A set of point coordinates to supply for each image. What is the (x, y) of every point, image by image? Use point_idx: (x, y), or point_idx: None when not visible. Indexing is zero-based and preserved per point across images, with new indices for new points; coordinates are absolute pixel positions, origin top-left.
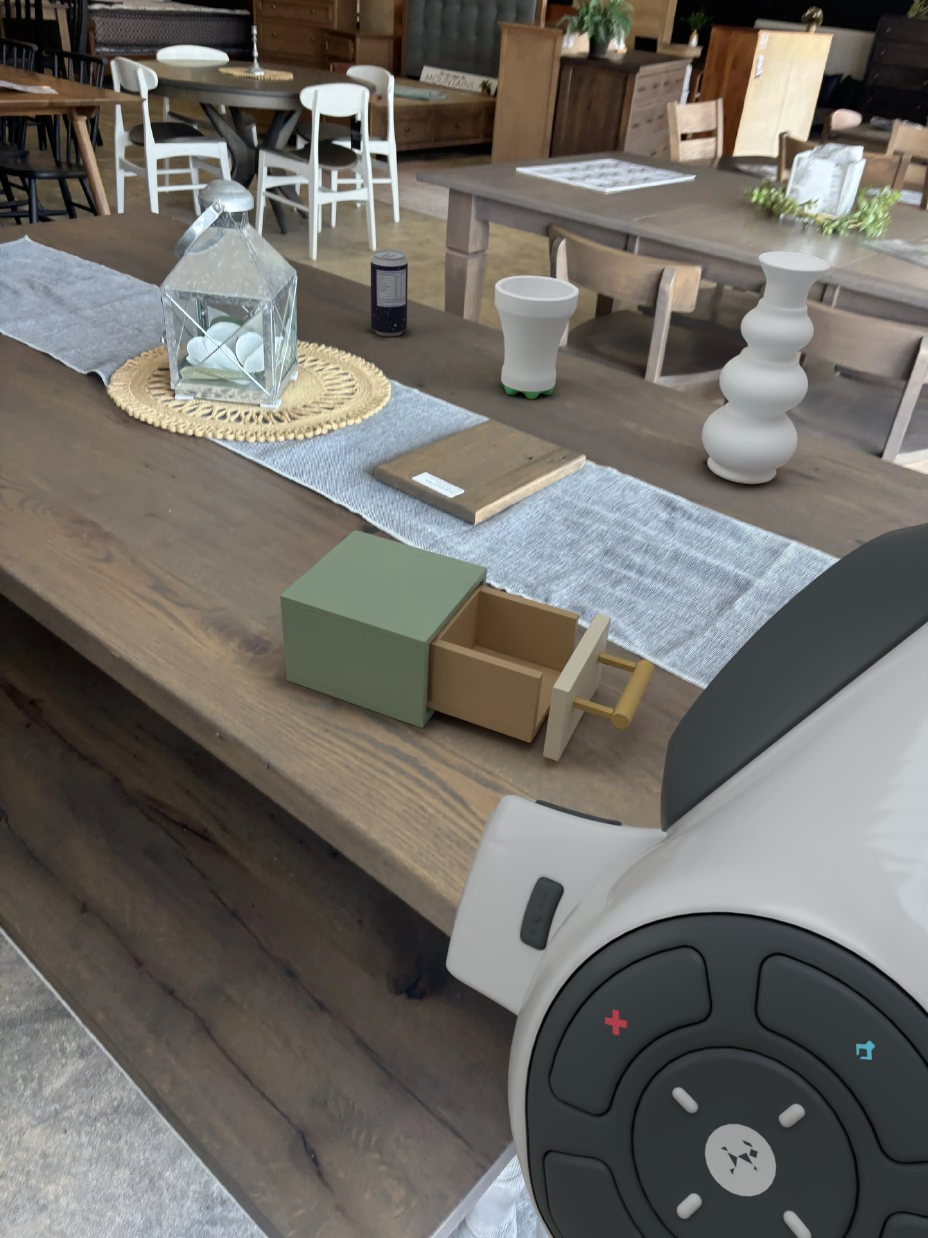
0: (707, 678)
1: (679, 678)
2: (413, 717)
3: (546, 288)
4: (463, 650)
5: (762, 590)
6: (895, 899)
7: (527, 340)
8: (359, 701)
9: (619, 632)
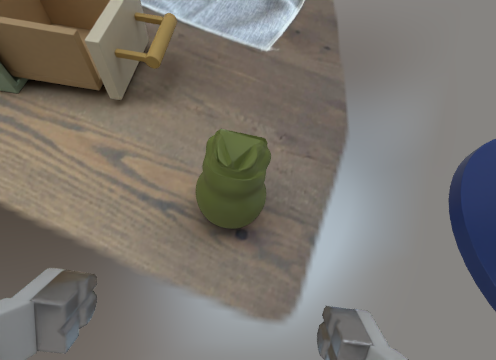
0: (220, 28)
1: (203, 30)
2: (5, 86)
3: None
4: (2, 19)
5: None
6: None
7: None
8: None
9: (163, 5)
